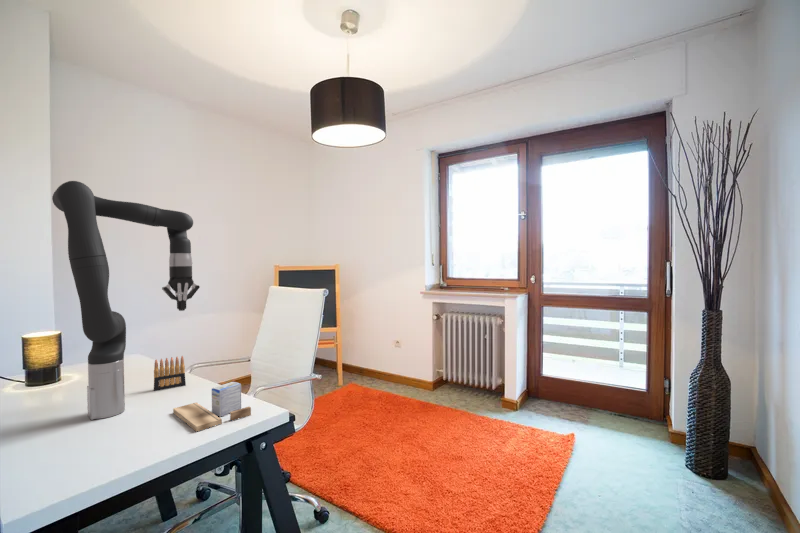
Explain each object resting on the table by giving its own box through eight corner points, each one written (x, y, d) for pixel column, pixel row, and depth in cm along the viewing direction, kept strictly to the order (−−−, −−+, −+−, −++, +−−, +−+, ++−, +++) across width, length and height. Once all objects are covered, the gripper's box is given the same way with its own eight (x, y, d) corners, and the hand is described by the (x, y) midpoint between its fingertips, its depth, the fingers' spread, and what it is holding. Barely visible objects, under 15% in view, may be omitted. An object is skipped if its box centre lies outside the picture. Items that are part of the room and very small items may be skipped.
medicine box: (233, 406, 126) (232, 381, 126) (241, 408, 124) (241, 383, 124) (211, 415, 119) (211, 388, 119) (220, 417, 117) (219, 390, 117)
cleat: (231, 420, 114) (231, 413, 114) (230, 419, 115) (230, 412, 115) (250, 414, 119) (250, 407, 119) (249, 413, 120) (249, 406, 120)
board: (196, 431, 107) (196, 426, 107) (173, 413, 121) (173, 408, 121) (221, 423, 112) (221, 418, 112) (196, 406, 127) (196, 402, 127)
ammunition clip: (154, 391, 144) (153, 360, 144) (153, 390, 145) (153, 359, 145) (185, 385, 150) (185, 355, 150) (185, 384, 152) (184, 354, 152)
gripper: (195, 265, 150) (196, 308, 150) (158, 265, 141) (158, 311, 141) (202, 265, 145) (203, 309, 145) (164, 265, 135) (165, 313, 135)
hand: (181, 310), depth 143 cm, fingers closed
